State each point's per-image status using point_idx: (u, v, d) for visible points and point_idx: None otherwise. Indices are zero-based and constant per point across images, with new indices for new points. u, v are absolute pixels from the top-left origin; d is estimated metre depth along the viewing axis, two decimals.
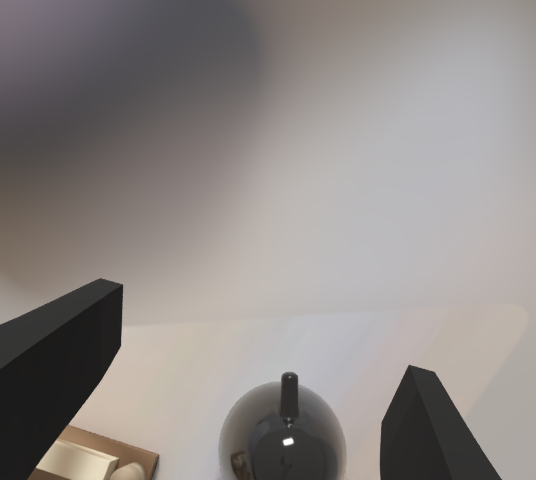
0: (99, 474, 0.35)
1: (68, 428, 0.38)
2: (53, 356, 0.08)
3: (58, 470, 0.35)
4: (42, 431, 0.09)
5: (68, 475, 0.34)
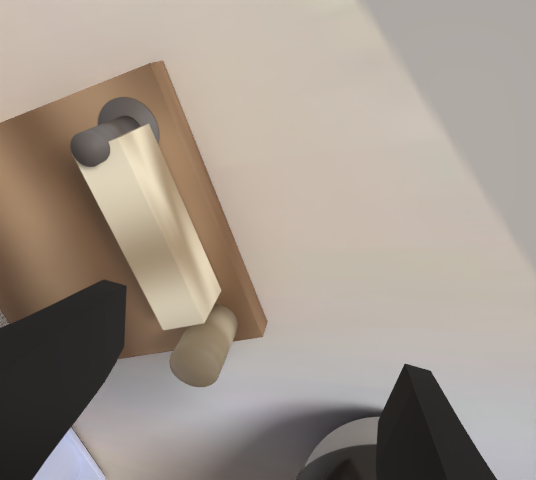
0: (178, 318, 0.18)
1: (197, 181, 0.18)
2: (57, 357, 0.08)
3: (131, 255, 0.17)
4: (46, 432, 0.09)
5: (139, 275, 0.17)
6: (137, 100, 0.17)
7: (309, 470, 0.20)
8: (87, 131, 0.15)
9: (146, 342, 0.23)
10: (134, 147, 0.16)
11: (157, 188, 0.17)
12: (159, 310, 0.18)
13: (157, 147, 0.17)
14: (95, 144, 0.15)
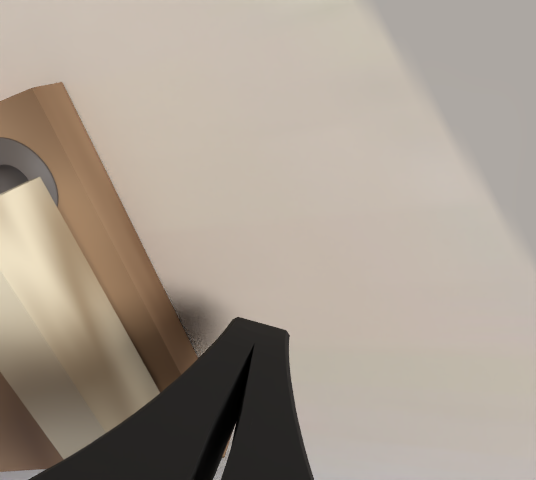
0: None
1: (118, 257, 0.12)
2: (226, 408, 0.08)
3: (13, 375, 0.11)
4: None
5: (28, 402, 0.12)
6: (20, 142, 0.11)
7: None
8: None
9: None
10: (3, 221, 0.10)
11: (49, 278, 0.11)
12: (63, 448, 0.12)
13: (55, 211, 0.12)
14: None
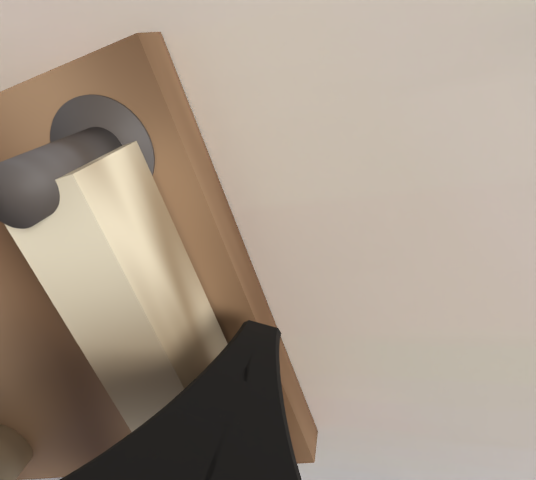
0: None
1: (218, 235, 0.11)
2: None
3: (106, 369, 0.10)
4: None
5: (119, 401, 0.10)
6: (116, 100, 0.10)
7: None
8: (11, 161, 0.07)
9: None
10: (108, 187, 0.09)
11: (151, 256, 0.09)
12: None
13: (151, 181, 0.10)
14: (26, 187, 0.07)
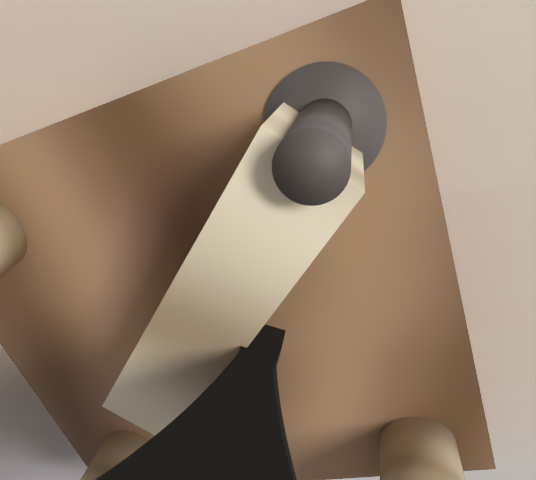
0: (142, 415, 0.10)
1: (441, 219, 0.10)
2: None
3: (171, 313, 0.09)
4: None
5: (150, 340, 0.09)
6: (353, 67, 0.09)
7: None
8: (344, 143, 0.06)
9: None
10: None
11: None
12: (125, 388, 0.10)
13: None
14: (336, 178, 0.07)
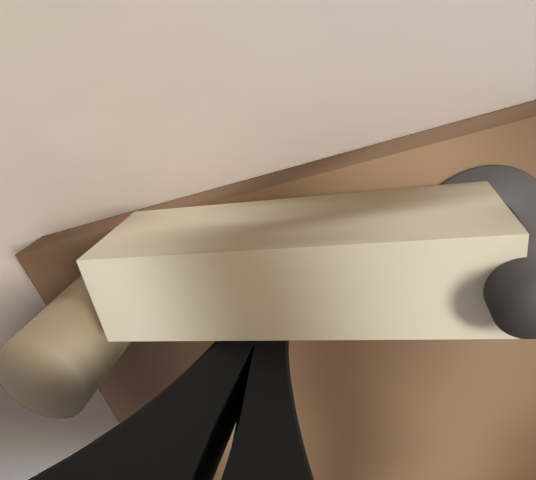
0: (110, 299, 0.09)
1: None
2: (226, 408, 0.08)
3: (259, 264, 0.08)
4: None
5: (209, 263, 0.08)
6: (525, 171, 0.09)
7: None
8: None
9: None
10: None
11: None
12: (124, 270, 0.08)
13: None
14: None
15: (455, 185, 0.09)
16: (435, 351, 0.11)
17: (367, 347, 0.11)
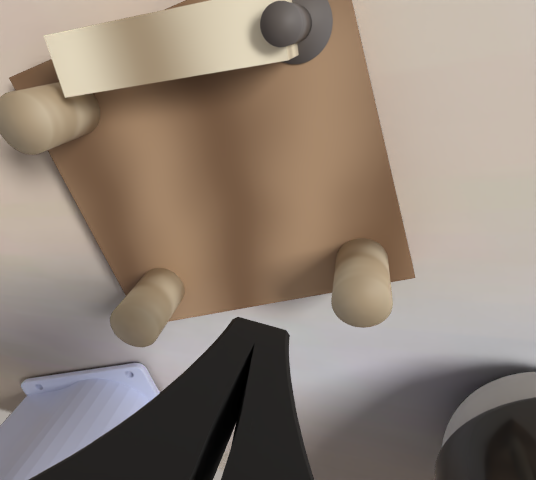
0: (64, 63, 0.15)
1: (368, 86, 0.16)
2: (226, 408, 0.08)
3: (146, 25, 0.14)
4: None
5: (118, 27, 0.14)
6: None
7: (473, 427, 0.18)
8: (301, 29, 0.12)
9: (272, 288, 0.20)
10: None
11: None
12: (71, 39, 0.14)
13: None
14: (285, 39, 0.13)
15: None
16: (282, 127, 0.17)
17: (240, 129, 0.17)
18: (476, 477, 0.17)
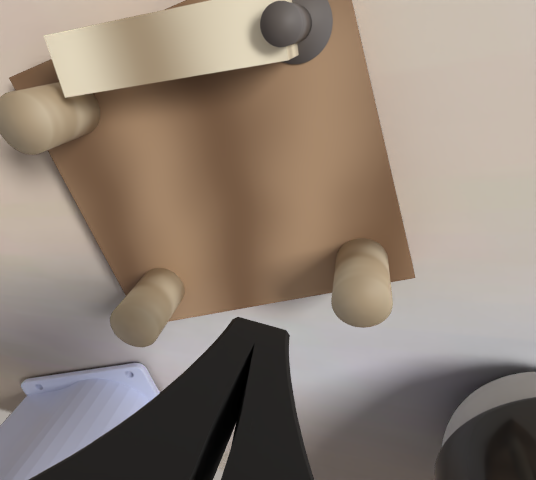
0: (64, 63, 0.15)
1: (368, 86, 0.16)
2: (226, 408, 0.08)
3: (146, 25, 0.14)
4: None
5: (118, 27, 0.14)
6: None
7: (473, 427, 0.18)
8: (301, 29, 0.12)
9: (272, 288, 0.20)
10: None
11: None
12: (71, 39, 0.14)
13: None
14: (285, 39, 0.13)
15: None
16: (282, 127, 0.17)
17: (240, 129, 0.17)
18: (475, 476, 0.17)
